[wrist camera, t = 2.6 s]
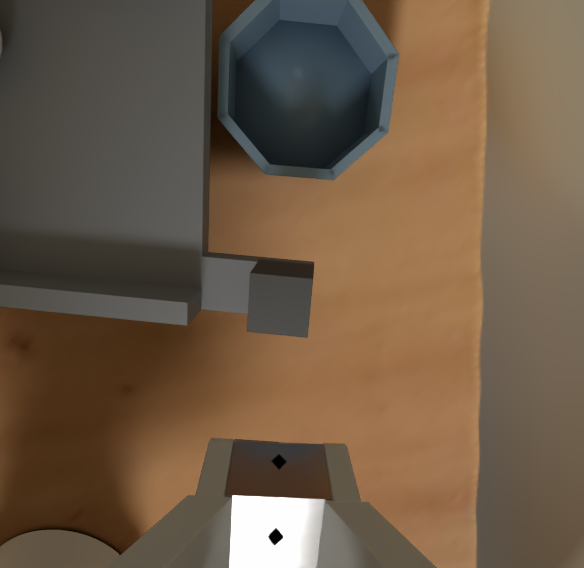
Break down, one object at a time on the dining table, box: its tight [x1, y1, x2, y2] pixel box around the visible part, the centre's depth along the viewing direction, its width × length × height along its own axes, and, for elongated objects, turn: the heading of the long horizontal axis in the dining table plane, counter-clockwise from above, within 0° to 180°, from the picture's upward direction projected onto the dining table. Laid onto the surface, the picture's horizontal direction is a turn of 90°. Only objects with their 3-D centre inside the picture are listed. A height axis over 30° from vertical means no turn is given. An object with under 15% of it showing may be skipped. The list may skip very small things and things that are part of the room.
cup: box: [217, 0, 399, 180], centre depth 25 cm, size 10×10×5 cm
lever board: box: [0, 0, 314, 338], centre depth 19 cm, size 17×20×4 cm
